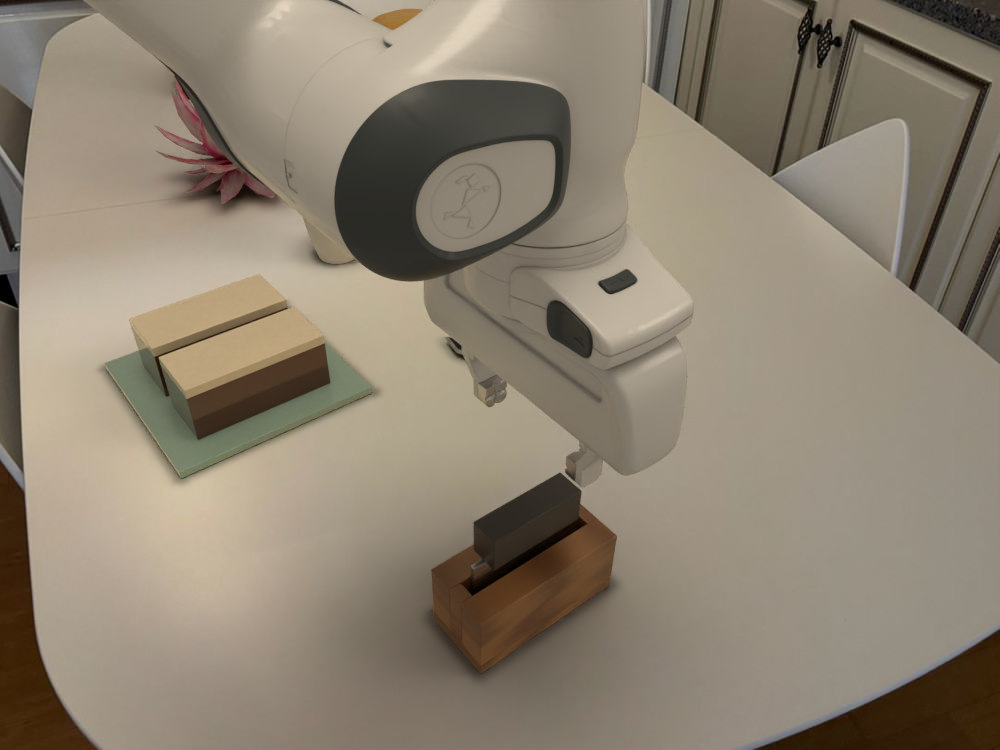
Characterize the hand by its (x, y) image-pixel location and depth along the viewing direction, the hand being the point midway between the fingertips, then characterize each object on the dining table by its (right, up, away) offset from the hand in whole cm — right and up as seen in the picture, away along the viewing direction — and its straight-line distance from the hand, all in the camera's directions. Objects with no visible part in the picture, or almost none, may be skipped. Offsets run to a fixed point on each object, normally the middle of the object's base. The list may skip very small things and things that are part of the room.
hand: (534, 436), depth 56 cm
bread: (-14, +47, +87) cm, 100 cm away
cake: (-29, +3, +32) cm, 43 cm away
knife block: (0, -14, +11) cm, 18 cm away
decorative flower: (-39, +31, +66) cm, 83 cm away
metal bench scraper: (0, -13, +10) cm, 17 cm away
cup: (-23, +19, +52) cm, 60 cm away
